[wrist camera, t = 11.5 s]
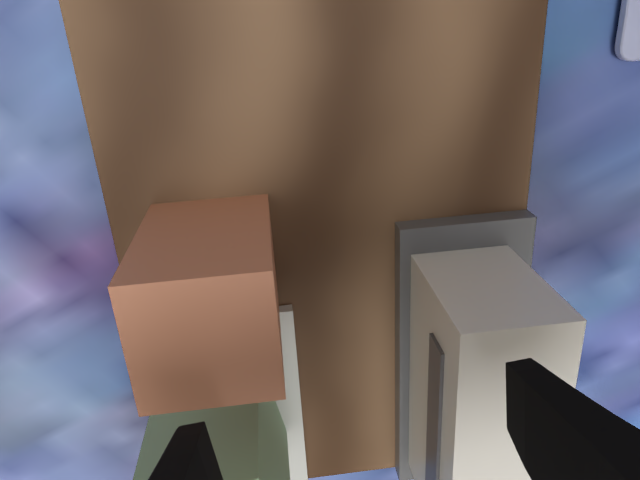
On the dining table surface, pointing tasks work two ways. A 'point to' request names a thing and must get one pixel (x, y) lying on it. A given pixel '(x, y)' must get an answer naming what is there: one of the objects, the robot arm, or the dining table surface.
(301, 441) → the mat
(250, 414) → the sage block
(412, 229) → the mounted unit
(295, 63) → the service board
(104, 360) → the dining table surface
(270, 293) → the terracotta block
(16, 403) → the dining table surface
